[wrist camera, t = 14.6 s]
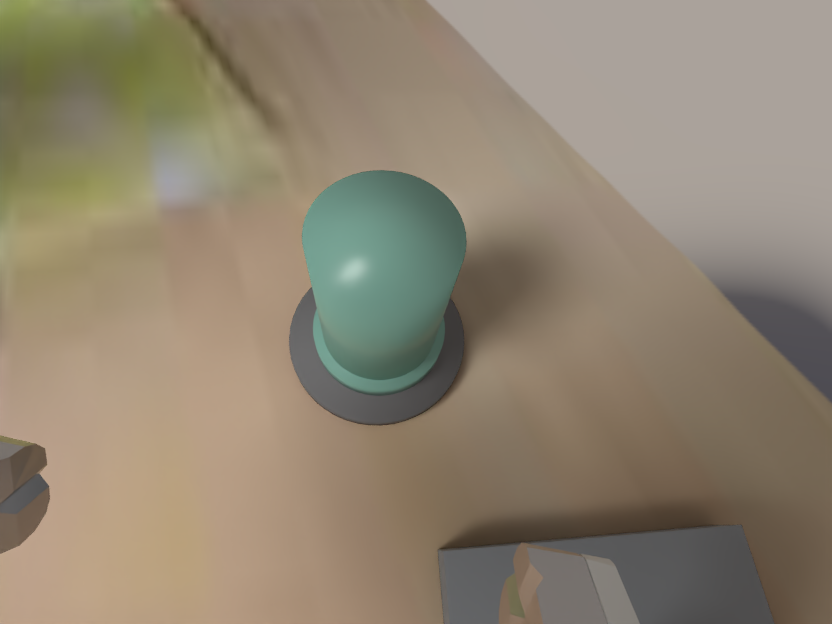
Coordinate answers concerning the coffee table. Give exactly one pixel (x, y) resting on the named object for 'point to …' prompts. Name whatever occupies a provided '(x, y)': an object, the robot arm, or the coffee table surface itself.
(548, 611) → the robot arm
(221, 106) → the coffee table surface
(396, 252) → the cap
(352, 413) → the pad
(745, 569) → the post slab
